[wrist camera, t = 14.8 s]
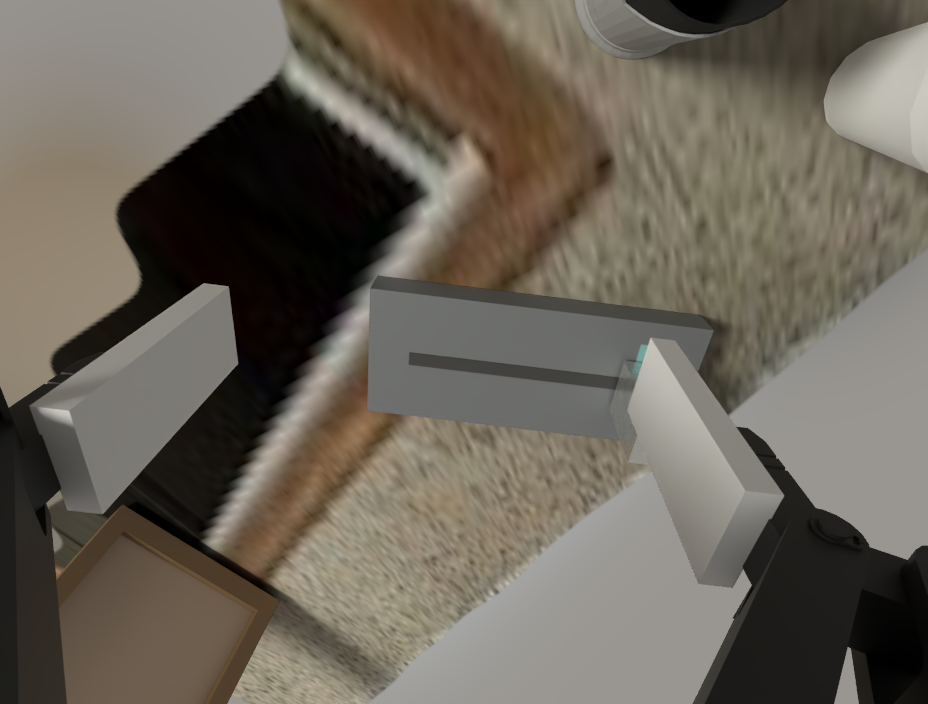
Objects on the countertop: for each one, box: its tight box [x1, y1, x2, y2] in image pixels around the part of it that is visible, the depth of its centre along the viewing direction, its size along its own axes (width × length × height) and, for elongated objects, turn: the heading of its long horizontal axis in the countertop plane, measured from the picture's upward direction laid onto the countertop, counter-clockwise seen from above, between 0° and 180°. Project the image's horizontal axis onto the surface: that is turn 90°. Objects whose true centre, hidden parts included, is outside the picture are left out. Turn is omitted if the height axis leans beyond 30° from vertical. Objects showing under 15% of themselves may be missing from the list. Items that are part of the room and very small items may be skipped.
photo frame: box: [56, 505, 279, 704], centre depth 52 cm, size 15×22×25 cm
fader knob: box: [609, 361, 649, 465], centre depth 40 cm, size 3×5×7 cm, turn 174°
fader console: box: [367, 276, 714, 441], centre depth 45 cm, size 28×12×3 cm, turn 84°
